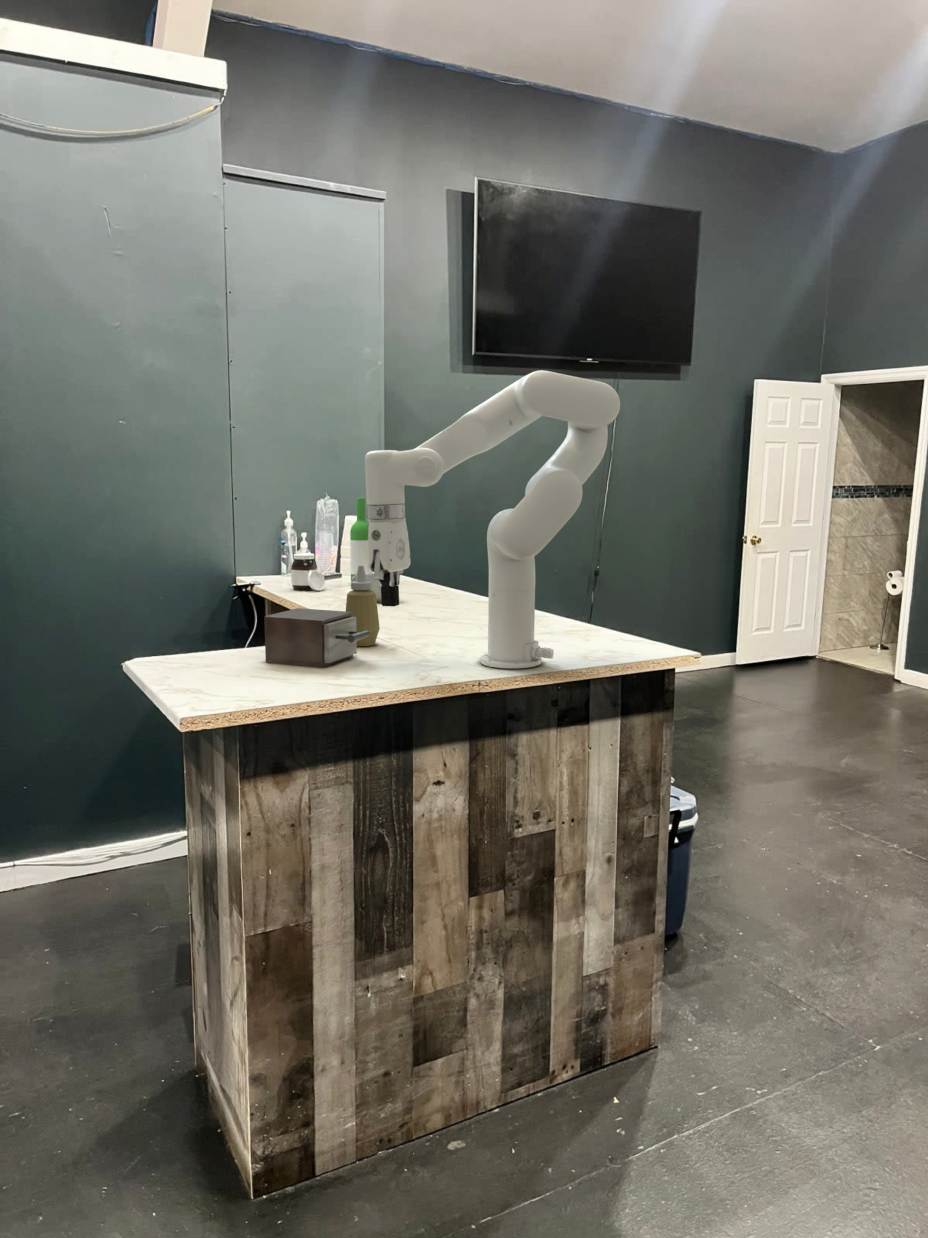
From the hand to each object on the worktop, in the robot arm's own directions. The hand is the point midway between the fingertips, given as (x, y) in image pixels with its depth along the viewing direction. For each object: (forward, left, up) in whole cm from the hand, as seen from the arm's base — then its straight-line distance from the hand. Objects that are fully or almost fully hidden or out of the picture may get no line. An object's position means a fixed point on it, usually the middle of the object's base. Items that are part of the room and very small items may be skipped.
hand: (390, 605), depth 185 cm
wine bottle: (+73, -122, -13) cm, 142 cm away
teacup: (+49, -85, -13) cm, 98 cm away
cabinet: (+19, 0, -12) cm, 22 cm away
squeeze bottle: (+17, -19, -13) cm, 28 cm away
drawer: (+15, 0, -12) cm, 19 cm away
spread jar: (+81, -100, -13) cm, 129 cm away
